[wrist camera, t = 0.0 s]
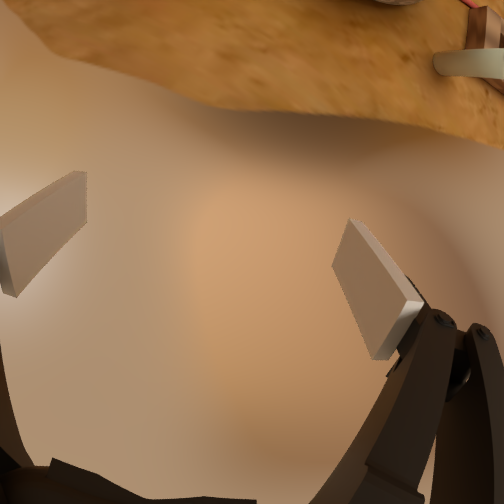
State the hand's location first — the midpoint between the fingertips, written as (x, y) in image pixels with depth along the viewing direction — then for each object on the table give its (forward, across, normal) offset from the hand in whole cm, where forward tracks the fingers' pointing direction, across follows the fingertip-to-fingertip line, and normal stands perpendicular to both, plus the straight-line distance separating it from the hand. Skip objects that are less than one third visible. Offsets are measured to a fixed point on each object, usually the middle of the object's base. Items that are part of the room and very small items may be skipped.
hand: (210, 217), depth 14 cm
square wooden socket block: (+28, +38, +29) cm, 55 cm away
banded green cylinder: (+28, +28, +21) cm, 45 cm away
